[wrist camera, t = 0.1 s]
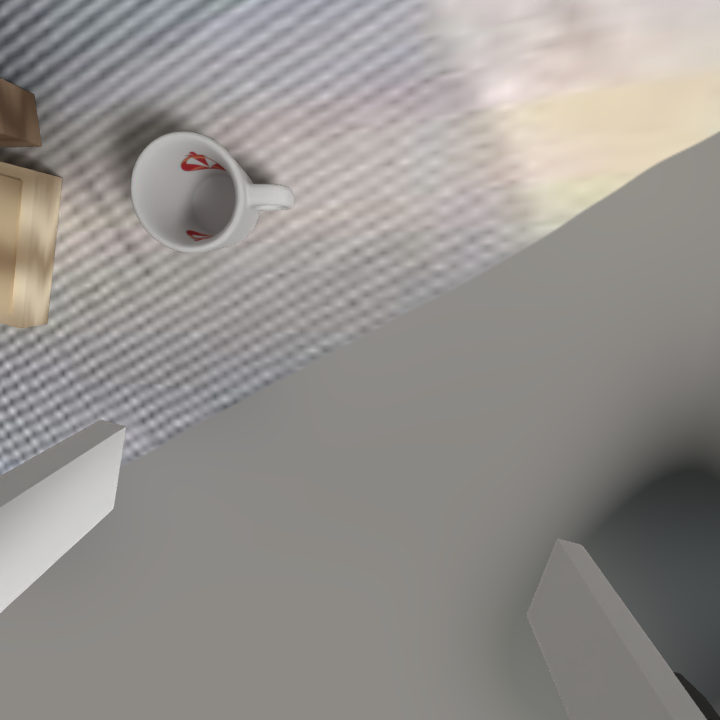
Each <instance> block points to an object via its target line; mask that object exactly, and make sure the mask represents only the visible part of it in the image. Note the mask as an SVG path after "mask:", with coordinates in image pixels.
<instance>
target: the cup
mask: <svg viewBox="0 0 720 720" xmlns="http://www.w3.org/2000/svg"><path fill="white" fill-rule="evenodd" d="M131 199H132V203H133V207H134V210H135V213H136V215H137V217H138V219H139V221H140V222H141V224H142V225H143V227H144V228H145V229H146V231H147V232H148V233H149V234H150V235H151V236H152V237H153V238H154V239H156V240H157V241H158V242H160V243H161V244H163V245H165V246H167V247H169V248H171V249H173V250H176V251H180V252H185V253H201V252H206V251H211V250H215V249H220V248H224V247H229V246H232V245H235V244H237V243H239V242H241V241H243V240H244V239H245V238H246V237H248V236H249V235H250V233H251V232H252V231H253V229H254V228H255V226H256V223H257V221H258V217H259V212H260V211H271V210H287V209H291V208H292V207H293V206H294V193H293V191H292V189H290V188H289V187H287V186H283V185H277V184H253V182H252V181H251V179H250V178H249V176H248V175H247V174H246V173H245V171H244V170H243V169H242V168H241V167H240V166H239V164H238V163H237V162H236V161H235V160H234V158H233V157H232V156H231V155H230V154H229V152H228V151H227V150H226V149H225V148H224V147H222V146H221V145H220V144H219V143H217V142H216V141H214V140H213V139H211V138H209V137H207V136H204V135H202V134H199V133H195V132H189V131H178V132H172V133H168V134H165V135H163V136H160V137H158V138H157V139H155V140H154V141H152V142H151V143H150V144H149V145H148V146H147V147H146V148H145V149H144V150H143V151H142V152H141V154H140V155H139V157H138V159H137V161H136V163H135V165H134V168H133V172H132V176H131Z"/></svg>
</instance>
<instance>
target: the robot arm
mask: <svg viewBox="0 0 720 720" xmlns="http://www.w3.org/2000/svg"><path fill="white" fill-rule="evenodd" d="M125 430H126V426H123V425H119V424H115V423H111V422H107V421H103V420H99V421H97V422H96V423H94V424H92V425H90V426H89V427H87V428H85V429H83V430H81V431H80V432H78V433H76V434H74V435H72V436H71V437H69V438H67V439H65V440H64V441H62V442H60V443H58V444H56V445H55V446H53V447H51V448H49V449H48V450H46V451H44V452H42V453H40V454H39V455H37V456H35V457H33V458H31V459H30V460H28V461H26V462H24V463H23V464H21V465H19V466H17V467H15V468H14V469H12V470H10V471H8V472H7V473H5V474H3V475H1V476H0V613H1V612H2V611H3V610H4V609H5V608H6V607H7V606H8V605H9V604H10V603H11V602H12V601H14V600H15V599H16V598H17V597H18V596H19V595H20V594H21V593H22V592H23V591H24V590H25V589H27V588H28V587H29V586H30V585H31V584H32V583H33V582H34V581H35V580H36V579H37V578H39V577H40V576H41V575H42V574H43V573H44V572H45V571H46V570H47V569H48V568H49V567H50V566H52V565H53V564H54V563H55V562H56V561H57V560H58V559H59V558H60V557H61V556H62V555H64V554H65V553H66V552H67V551H68V550H69V549H70V548H71V547H72V546H73V545H74V544H75V543H77V541H79V540H80V539H81V538H82V537H83V536H84V535H85V534H86V533H87V532H89V531H90V530H91V529H92V528H93V527H94V526H95V525H96V524H97V523H98V522H99V521H100V520H102V519H103V518H104V517H105V516H106V515H107V514H108V513H109V512H110V511H111V510H112V509H113V508H114V501H115V495H116V488H117V481H118V475H119V469H120V462H121V456H122V449H123V443H124V436H125ZM527 618H528V620H529V622H530V625H531V627H532V629H533V632H534V634H535V637H536V639H537V642H538V644H539V646H540V649H541V651H542V654H543V656H544V659H545V661H546V663H547V666H548V668H549V670H550V673H551V675H552V678H553V680H554V683H555V685H556V687H557V690H558V692H559V695H560V697H561V700H562V702H563V704H564V707H565V709H566V712H567V714H568V716H569V719H570V720H720V717H719V715H718V714H717V713H716V711H715V710H714V709H713V707H712V706H711V705H710V703H709V702H708V701H707V699H706V698H705V697H704V696H703V695H702V694H701V693H700V692H699V691H698V690H697V689H696V688H695V687H694V686H693V685H692V684H691V683H689V682H688V681H687V680H686V679H685V678H684V677H683V676H682V675H681V674H679V673H675V672H673V671H672V670H671V669H670V667H669V666H668V664H667V663H666V662H665V660H664V659H663V657H662V656H661V655H660V653H659V652H658V650H657V649H656V648H655V646H654V645H653V643H652V642H651V641H650V639H649V638H648V637H647V635H646V634H645V632H644V631H643V630H642V628H641V627H640V625H639V624H638V623H637V621H636V620H635V618H634V617H633V616H632V614H631V613H630V611H629V610H628V609H627V607H626V606H625V604H624V603H623V602H622V600H621V599H620V597H619V596H618V595H617V593H616V592H615V590H614V589H613V588H612V586H611V585H610V583H609V582H608V581H607V579H606V578H605V576H604V575H603V574H602V572H601V571H600V569H599V568H598V567H597V565H596V564H595V562H594V561H593V560H592V558H591V557H590V555H589V554H588V553H587V551H586V550H585V548H584V547H583V546H582V545H580V544H576V543H572V542H569V541H565V540H561V539H557V541H556V543H555V546H554V548H553V550H552V553H551V555H550V558H549V560H548V563H547V565H546V568H545V571H544V573H543V575H542V578H541V580H540V583H539V585H538V588H537V590H536V593H535V595H534V598H533V600H532V603H531V605H530V608H529V610H528V613H527Z"/></svg>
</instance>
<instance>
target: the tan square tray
mask: <svg viewBox="0 0 720 720" xmlns="http://www.w3.org/2000/svg"><path fill="white" fill-rule="evenodd" d="M61 186H62V178H61V177H57V176H53V175H49V174H46V173H42V172H38V171H34V170H30V169H27V168H23V167H19V166H15V165H12V164H8V163H4V162H0V323H3V324H7V325H11V326H14V327H18V328H27V327H32V326H38V325H43V324H47V320H48V310H49V301H50V291H51V282H52V272H53V263H54V253H55V243H56V234H57V224H58V215H59V205H60V196H61Z"/></svg>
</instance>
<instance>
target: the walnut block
mask: <svg viewBox="0 0 720 720" xmlns="http://www.w3.org/2000/svg"><path fill="white" fill-rule="evenodd" d="M0 147H42V144H41V137H40V130H39V124H38V117H37V110H36V103H35V96H34V94H32V93H30V92H28V91H26V90H24V89H22V88H20V87H18V86H16V85H14V84H12V83H9V82H7V81H5V80H3V79H1V78H0Z"/></svg>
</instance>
